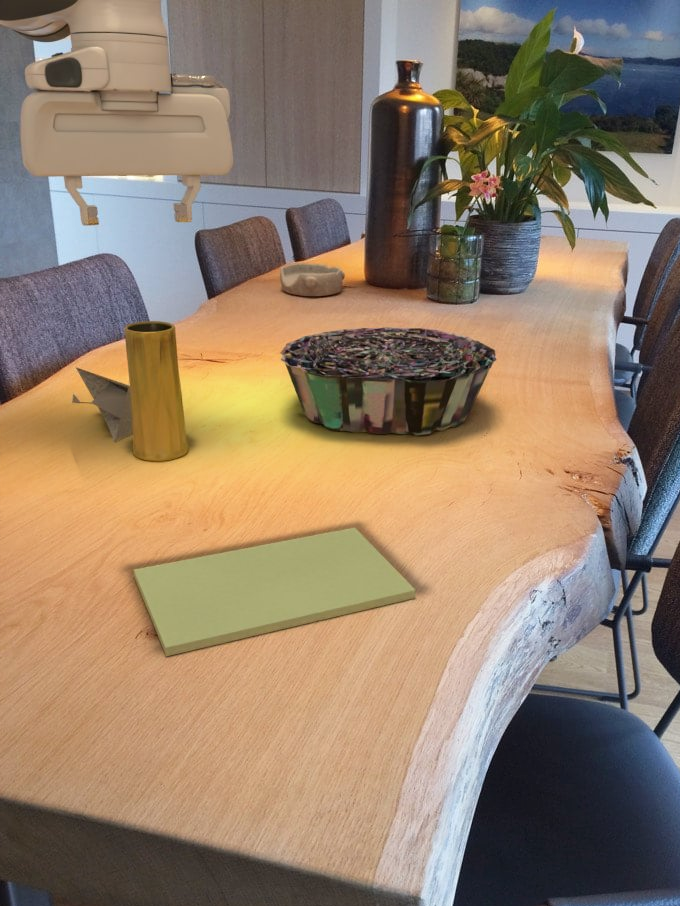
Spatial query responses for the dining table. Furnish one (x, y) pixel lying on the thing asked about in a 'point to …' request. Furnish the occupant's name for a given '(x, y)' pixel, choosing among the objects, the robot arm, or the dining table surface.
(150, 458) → the vase
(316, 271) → the dish
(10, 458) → the dining table surface
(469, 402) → the decorative bowl
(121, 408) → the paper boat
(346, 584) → the mat
